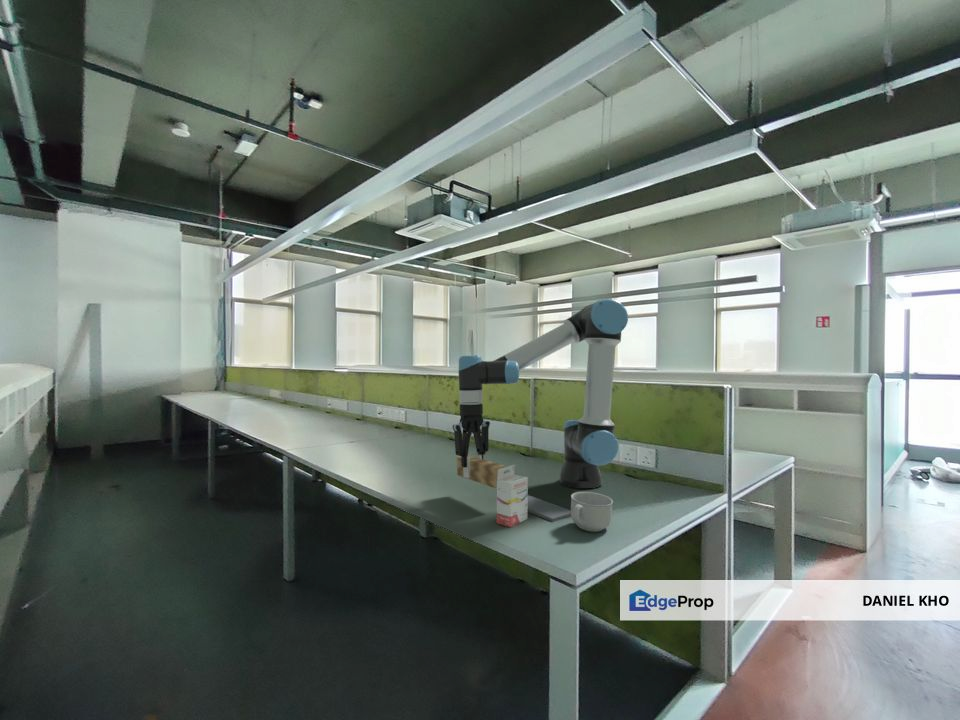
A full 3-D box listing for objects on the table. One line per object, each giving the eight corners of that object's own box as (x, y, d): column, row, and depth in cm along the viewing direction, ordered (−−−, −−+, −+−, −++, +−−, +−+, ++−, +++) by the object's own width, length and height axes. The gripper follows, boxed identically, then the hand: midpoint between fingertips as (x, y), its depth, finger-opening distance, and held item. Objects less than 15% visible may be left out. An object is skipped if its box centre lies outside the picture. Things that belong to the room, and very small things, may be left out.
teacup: (588, 517, 119) (588, 488, 119) (621, 529, 110) (621, 498, 110) (554, 528, 110) (554, 498, 110) (587, 542, 102) (587, 509, 102)
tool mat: (522, 495, 138) (522, 493, 138) (574, 514, 121) (574, 511, 121) (501, 500, 133) (501, 498, 133) (552, 521, 115) (552, 518, 115)
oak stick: (457, 475, 139) (456, 457, 139) (467, 472, 141) (466, 455, 141) (495, 488, 123) (494, 467, 123) (505, 485, 125) (505, 465, 125)
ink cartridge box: (511, 528, 111) (510, 472, 111) (496, 523, 114) (495, 469, 114) (528, 518, 117) (528, 466, 118) (514, 514, 121) (513, 463, 121)
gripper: (485, 400, 143) (486, 469, 143) (442, 404, 133) (444, 478, 133) (498, 401, 137) (500, 473, 137) (455, 406, 127) (457, 483, 127)
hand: (472, 475), depth 135 cm, fingers closed on oak stick, 4 cm apart
